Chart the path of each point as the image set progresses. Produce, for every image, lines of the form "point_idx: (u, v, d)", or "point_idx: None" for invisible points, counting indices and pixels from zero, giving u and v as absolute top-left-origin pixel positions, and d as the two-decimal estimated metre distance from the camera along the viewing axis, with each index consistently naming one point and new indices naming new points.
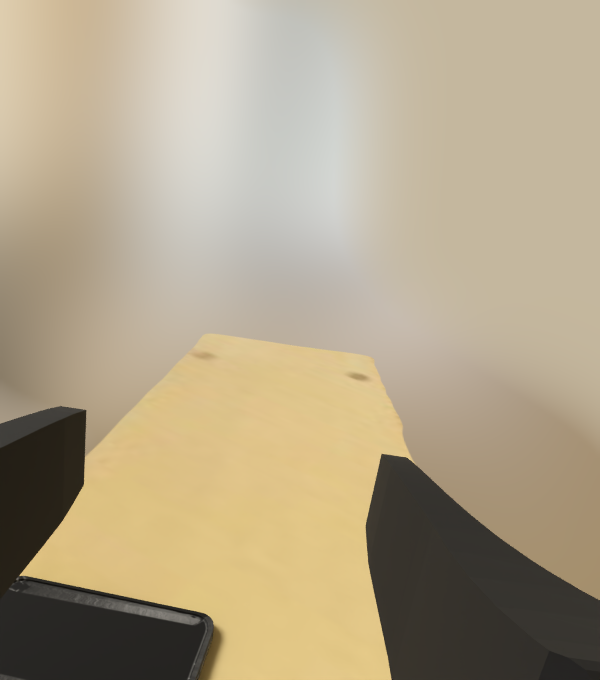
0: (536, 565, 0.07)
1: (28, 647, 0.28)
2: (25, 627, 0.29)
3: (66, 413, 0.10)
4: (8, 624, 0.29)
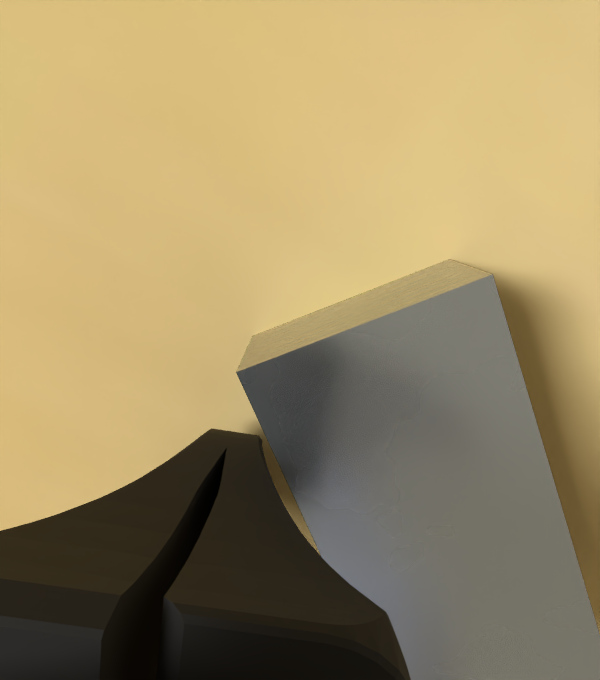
0: (295, 530, 0.07)
1: None
2: None
3: (226, 437, 0.10)
4: None
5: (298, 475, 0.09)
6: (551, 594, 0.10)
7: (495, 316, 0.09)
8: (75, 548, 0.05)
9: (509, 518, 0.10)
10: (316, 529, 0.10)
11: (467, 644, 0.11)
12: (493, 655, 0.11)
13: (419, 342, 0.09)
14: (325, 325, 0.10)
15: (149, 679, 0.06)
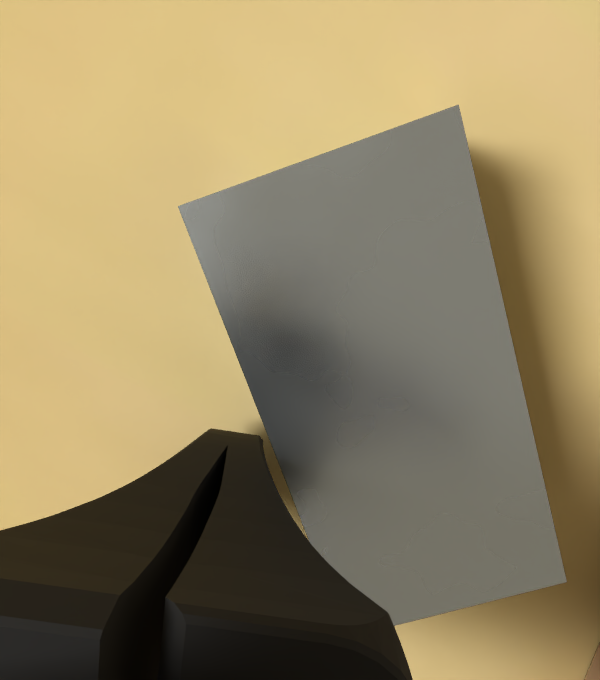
0: (297, 530, 0.07)
1: None
2: None
3: (225, 437, 0.10)
4: None
5: (242, 331, 0.09)
6: (506, 481, 0.10)
7: (459, 154, 0.08)
8: (74, 547, 0.05)
9: (466, 392, 0.09)
10: (260, 395, 0.09)
11: (416, 535, 0.10)
12: (443, 549, 0.10)
13: (377, 181, 0.08)
14: None
15: (148, 679, 0.06)
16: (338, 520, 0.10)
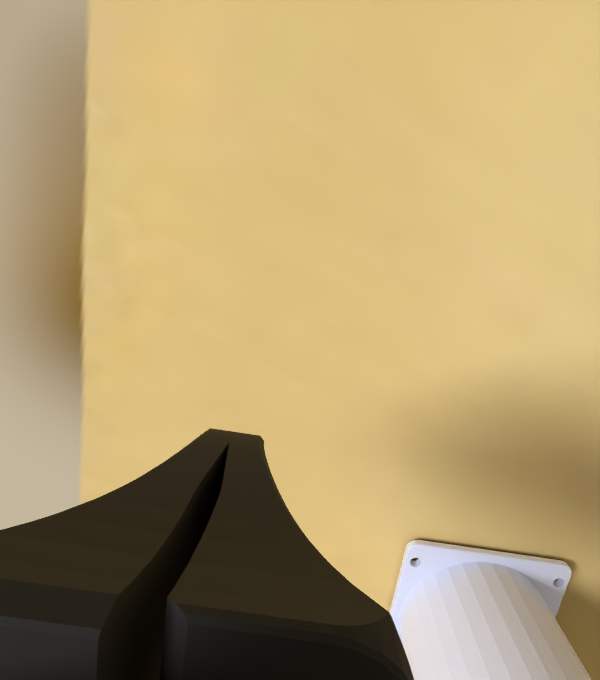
0: (297, 531, 0.07)
1: None
2: None
3: (225, 437, 0.10)
4: None
5: None
6: None
7: None
8: (72, 547, 0.05)
9: None
10: None
11: None
12: None
13: None
14: None
15: (147, 679, 0.06)
16: None
